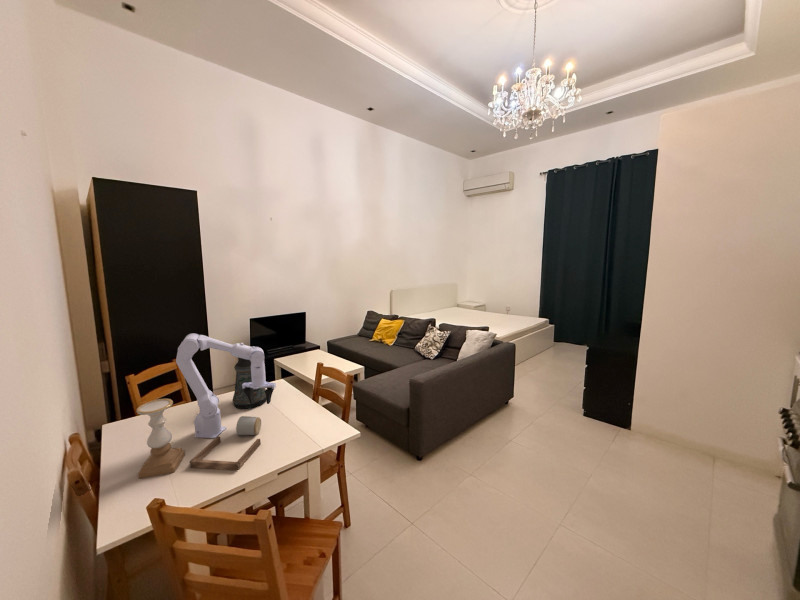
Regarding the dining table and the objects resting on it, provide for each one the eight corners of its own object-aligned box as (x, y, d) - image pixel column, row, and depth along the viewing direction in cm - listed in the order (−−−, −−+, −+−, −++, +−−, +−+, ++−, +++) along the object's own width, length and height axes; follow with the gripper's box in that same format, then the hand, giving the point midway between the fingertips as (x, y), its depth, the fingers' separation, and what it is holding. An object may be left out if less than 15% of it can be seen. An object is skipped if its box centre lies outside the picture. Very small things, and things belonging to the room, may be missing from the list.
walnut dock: (190, 467, 113) (189, 461, 112) (218, 442, 128) (217, 436, 127) (238, 470, 111) (237, 464, 111) (260, 444, 126) (260, 438, 126)
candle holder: (174, 472, 110) (166, 410, 106) (137, 479, 107) (128, 415, 103) (185, 453, 121) (178, 396, 117) (152, 458, 117) (144, 400, 114)
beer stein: (248, 413, 150) (244, 364, 146) (221, 404, 158) (217, 358, 154) (275, 398, 165) (271, 353, 161) (249, 391, 173) (246, 348, 169)
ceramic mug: (256, 438, 130) (255, 421, 129) (236, 439, 130) (234, 421, 129) (265, 424, 141) (264, 408, 140) (246, 425, 140) (245, 409, 139)
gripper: (237, 378, 135) (240, 406, 137) (270, 378, 135) (272, 407, 137) (246, 371, 142) (248, 399, 144) (277, 372, 142) (278, 399, 144)
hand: (260, 402), depth 141 cm, fingers open, 7 cm apart
